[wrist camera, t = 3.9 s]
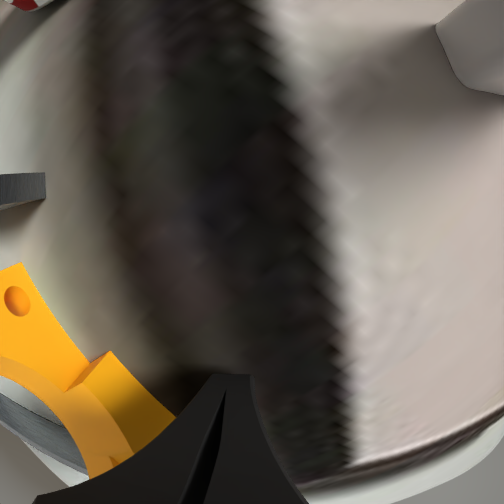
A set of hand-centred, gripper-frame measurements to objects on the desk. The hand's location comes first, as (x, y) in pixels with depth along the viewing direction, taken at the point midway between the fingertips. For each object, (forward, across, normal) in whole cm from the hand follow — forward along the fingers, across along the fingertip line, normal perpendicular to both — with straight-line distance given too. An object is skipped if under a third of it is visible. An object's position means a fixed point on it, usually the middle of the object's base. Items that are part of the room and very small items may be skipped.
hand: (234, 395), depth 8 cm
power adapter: (+1, -11, -13) cm, 17 cm away
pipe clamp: (+1, +7, +1) cm, 7 cm away
